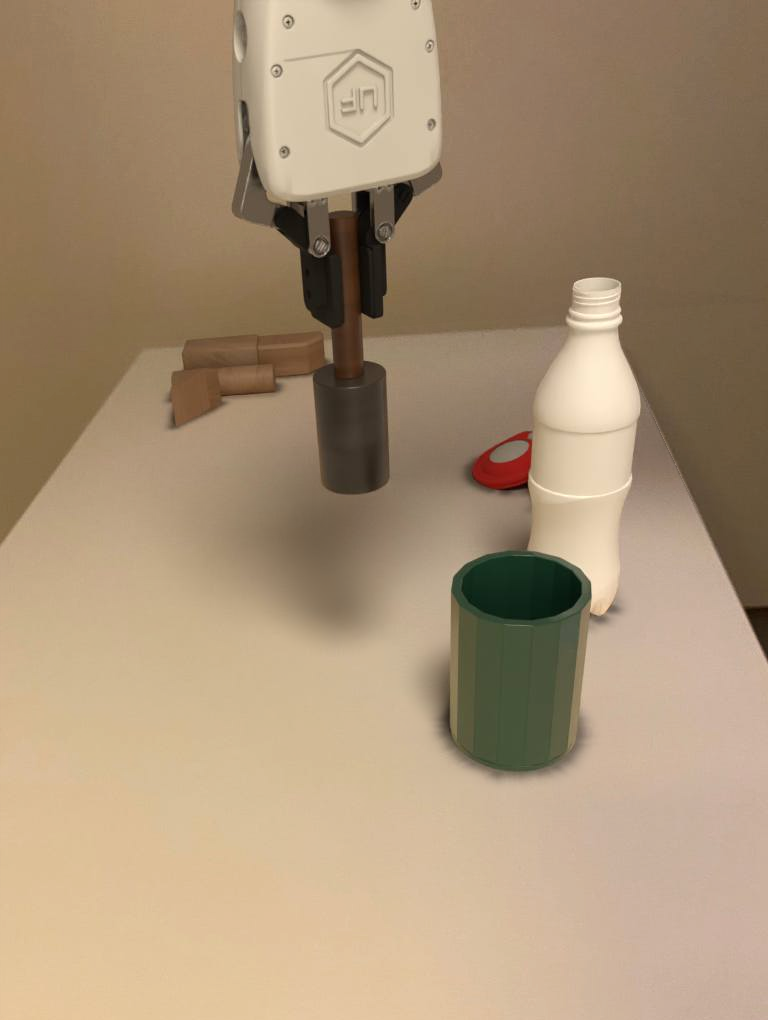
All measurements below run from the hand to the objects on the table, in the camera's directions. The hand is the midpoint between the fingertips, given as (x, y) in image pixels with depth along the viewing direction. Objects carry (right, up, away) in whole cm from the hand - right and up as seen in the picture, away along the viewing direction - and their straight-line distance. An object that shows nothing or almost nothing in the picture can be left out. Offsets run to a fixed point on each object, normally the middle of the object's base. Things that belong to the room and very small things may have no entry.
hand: (346, 314), depth 57 cm
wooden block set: (-8, +10, +61) cm, 63 cm away
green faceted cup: (+12, -25, +10) cm, 29 cm away
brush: (+1, -8, +6) cm, 11 cm away
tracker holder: (+19, -4, +38) cm, 42 cm away
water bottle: (+19, -16, +21) cm, 33 cm away
